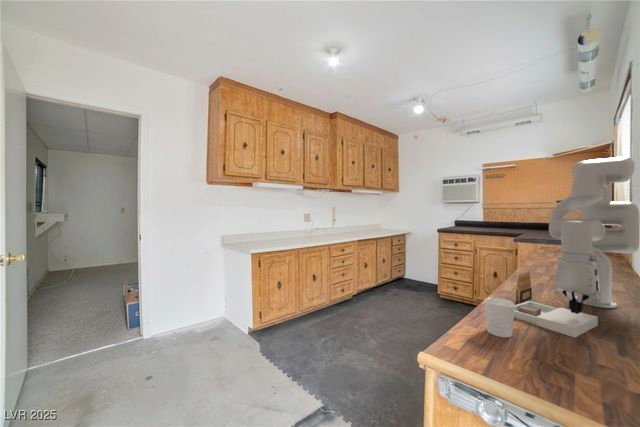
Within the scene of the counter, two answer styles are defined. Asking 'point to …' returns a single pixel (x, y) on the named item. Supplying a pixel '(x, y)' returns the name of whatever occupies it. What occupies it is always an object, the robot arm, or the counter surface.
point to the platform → (567, 322)
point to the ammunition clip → (523, 288)
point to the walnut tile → (530, 310)
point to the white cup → (499, 316)
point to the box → (529, 317)
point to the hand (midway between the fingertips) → (575, 312)
